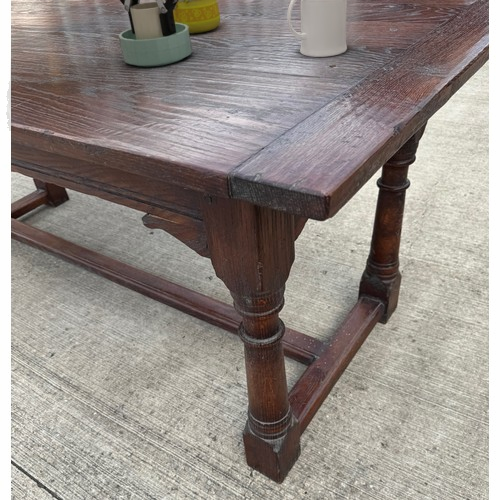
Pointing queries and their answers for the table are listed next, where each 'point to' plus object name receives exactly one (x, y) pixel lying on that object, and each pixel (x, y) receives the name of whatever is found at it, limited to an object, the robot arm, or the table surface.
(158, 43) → the bowl
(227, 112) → the table surface
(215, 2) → the mug
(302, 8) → the mug
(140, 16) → the cup
